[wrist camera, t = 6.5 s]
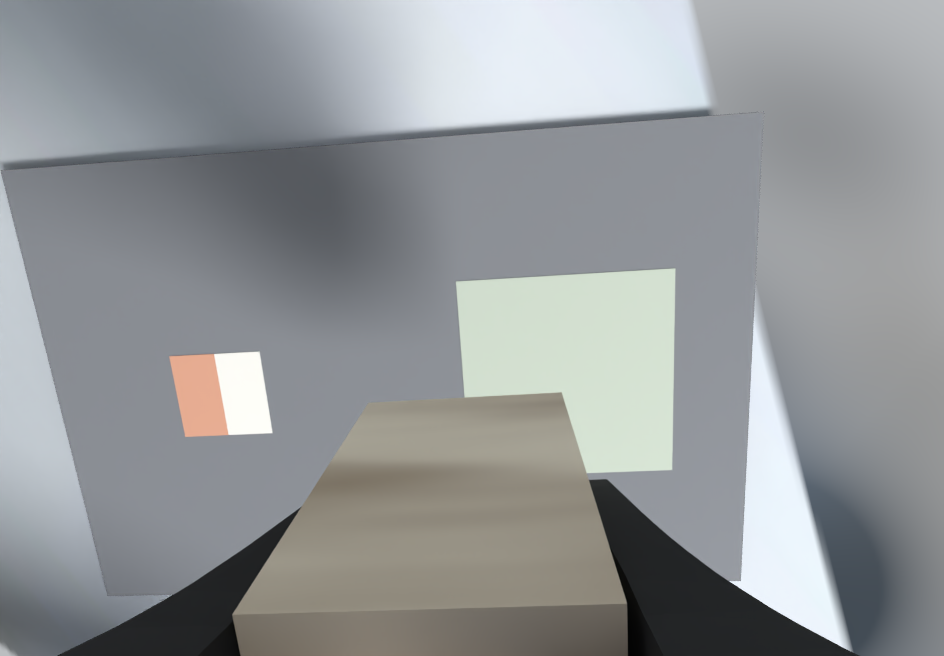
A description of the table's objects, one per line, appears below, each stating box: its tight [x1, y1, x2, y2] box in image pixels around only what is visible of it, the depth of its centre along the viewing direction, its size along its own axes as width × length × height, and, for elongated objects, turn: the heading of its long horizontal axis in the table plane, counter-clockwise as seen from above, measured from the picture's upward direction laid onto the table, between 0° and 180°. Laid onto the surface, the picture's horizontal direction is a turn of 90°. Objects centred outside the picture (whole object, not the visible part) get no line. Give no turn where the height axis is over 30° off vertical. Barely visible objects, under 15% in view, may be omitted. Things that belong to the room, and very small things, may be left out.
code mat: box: [1, 112, 764, 596], centre depth 19 cm, size 16×24×1 cm, turn 94°
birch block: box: [232, 392, 628, 656], centre depth 9 cm, size 4×4×6 cm
